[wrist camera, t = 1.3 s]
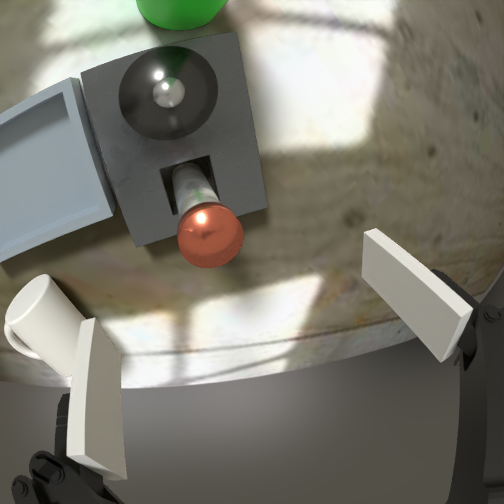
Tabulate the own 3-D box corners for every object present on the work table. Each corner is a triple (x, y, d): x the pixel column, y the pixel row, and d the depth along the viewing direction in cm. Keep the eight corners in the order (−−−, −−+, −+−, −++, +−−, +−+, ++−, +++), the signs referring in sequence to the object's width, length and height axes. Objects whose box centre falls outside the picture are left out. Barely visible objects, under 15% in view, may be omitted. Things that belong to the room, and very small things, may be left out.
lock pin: (173, 200, 30) (188, 275, 19) (163, 164, 28) (169, 220, 17) (210, 189, 31) (248, 256, 19) (201, 153, 29) (236, 200, 17)
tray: (-6, 256, 26) (-15, 269, 23) (-48, 153, 18) (-61, 159, 16) (116, 205, 29) (112, 216, 26) (78, 78, 21) (70, 77, 19)
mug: (56, 263, 29) (38, 307, 23) (102, 320, 35) (97, 366, 28) (0, 301, 29) (-19, 342, 22) (44, 348, 34) (35, 391, 28)
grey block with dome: (137, 234, 31) (134, 267, 26) (87, 74, 21) (69, 70, 16) (258, 197, 33) (280, 221, 28) (228, 37, 23) (247, 23, 18)
